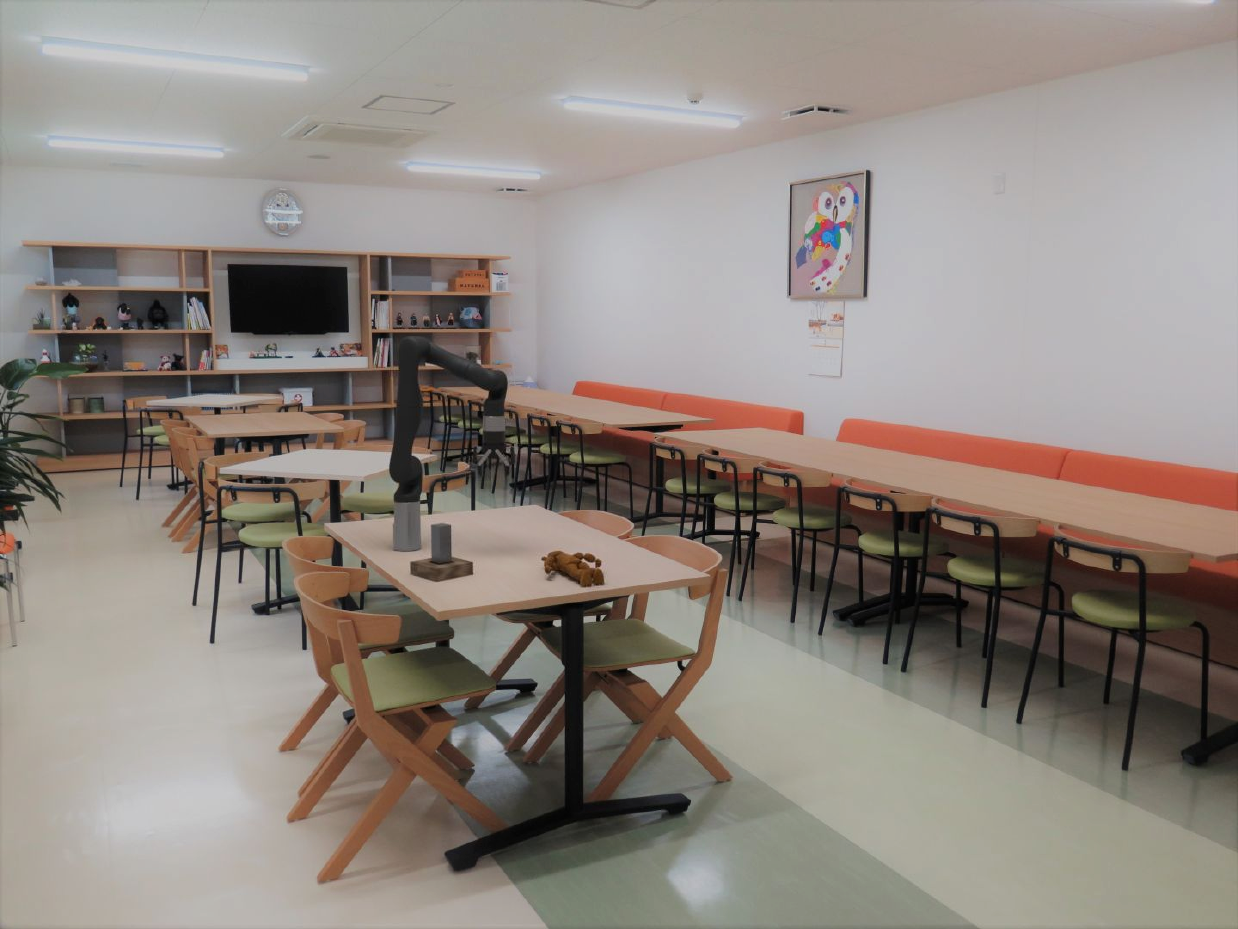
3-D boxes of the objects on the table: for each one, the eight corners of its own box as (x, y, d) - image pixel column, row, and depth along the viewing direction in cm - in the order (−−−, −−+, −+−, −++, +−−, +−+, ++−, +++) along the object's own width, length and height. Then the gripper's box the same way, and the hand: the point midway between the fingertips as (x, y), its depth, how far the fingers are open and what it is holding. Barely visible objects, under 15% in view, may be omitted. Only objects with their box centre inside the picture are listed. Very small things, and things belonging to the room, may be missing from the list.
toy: (621, 586, 304) (576, 562, 330) (622, 564, 303) (577, 542, 329) (564, 593, 294) (522, 569, 320) (564, 571, 293) (522, 548, 319)
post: (440, 576, 309) (439, 526, 307) (431, 574, 312) (430, 524, 310) (451, 574, 312) (451, 524, 310) (443, 571, 315) (442, 522, 313)
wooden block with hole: (436, 581, 302) (436, 569, 302) (410, 574, 312) (410, 561, 311) (472, 574, 312) (472, 562, 312) (446, 567, 322) (446, 555, 321)
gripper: (471, 429, 329) (471, 477, 331) (514, 430, 329) (513, 478, 331) (474, 427, 336) (474, 474, 338) (515, 428, 337) (515, 475, 339)
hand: (493, 476), depth 335 cm, fingers open, 8 cm apart
